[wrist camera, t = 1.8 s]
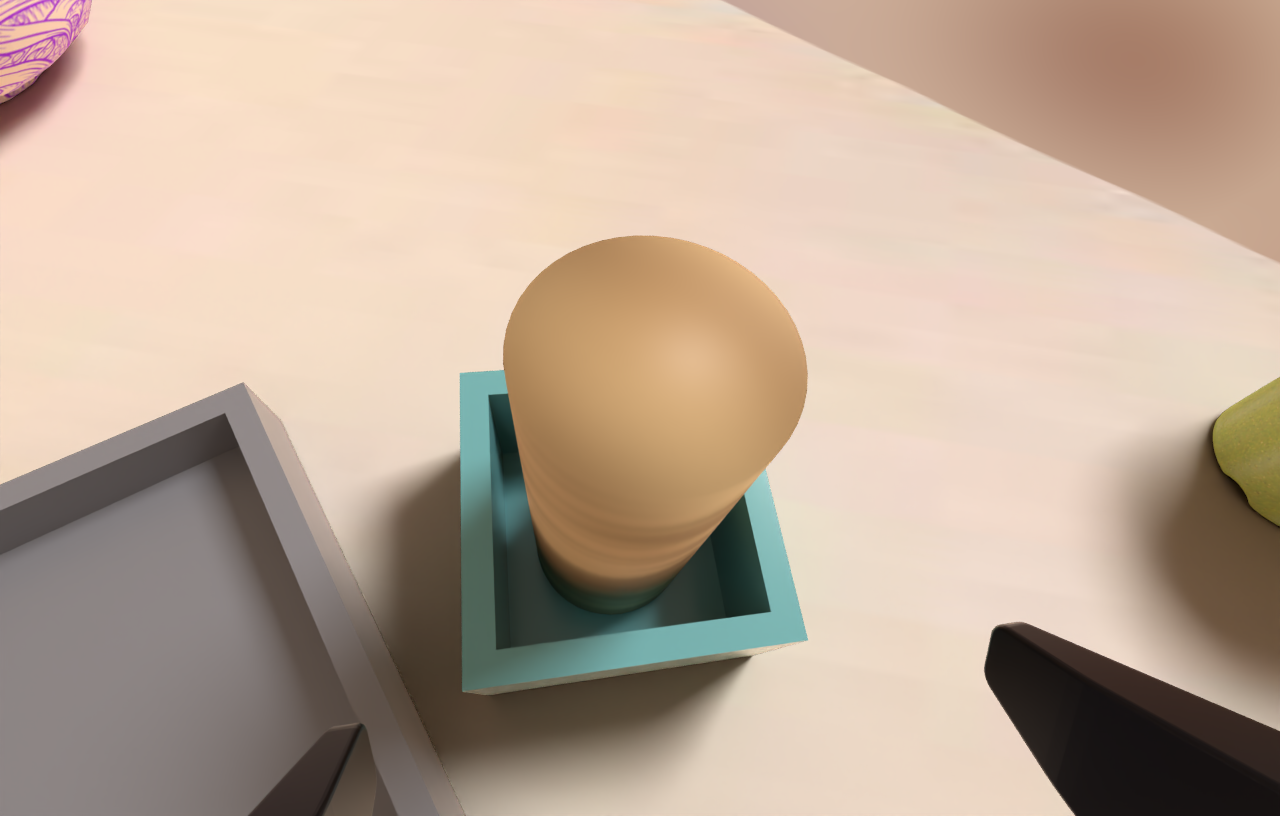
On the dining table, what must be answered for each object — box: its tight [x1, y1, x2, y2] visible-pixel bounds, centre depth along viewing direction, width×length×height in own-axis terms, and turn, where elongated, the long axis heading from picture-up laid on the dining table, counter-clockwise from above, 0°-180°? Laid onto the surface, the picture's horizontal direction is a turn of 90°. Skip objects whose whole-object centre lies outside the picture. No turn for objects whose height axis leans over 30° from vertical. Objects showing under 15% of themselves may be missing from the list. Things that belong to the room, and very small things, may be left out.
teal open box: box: [460, 370, 808, 695], centre depth 18 cm, size 9×9×5 cm
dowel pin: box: [503, 236, 808, 615], centre depth 15 cm, size 5×5×12 cm
